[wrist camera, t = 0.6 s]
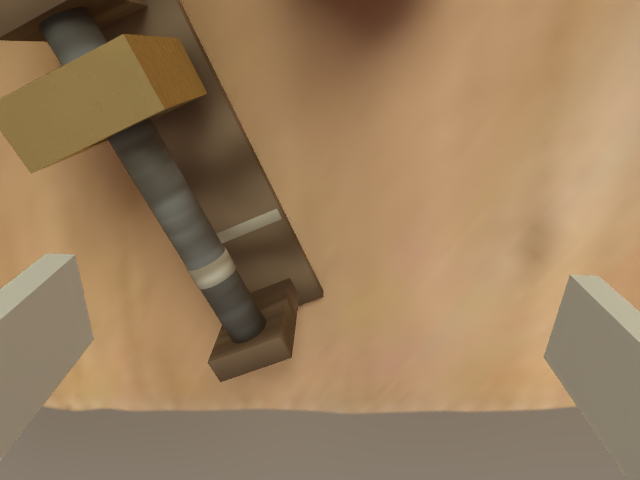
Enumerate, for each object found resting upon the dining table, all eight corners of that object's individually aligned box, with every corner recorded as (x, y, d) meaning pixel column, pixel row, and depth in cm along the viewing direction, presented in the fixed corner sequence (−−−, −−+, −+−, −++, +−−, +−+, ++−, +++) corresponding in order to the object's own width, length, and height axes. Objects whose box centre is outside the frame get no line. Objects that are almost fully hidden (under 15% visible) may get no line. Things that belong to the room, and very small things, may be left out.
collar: (72, 92, 32) (-16, 107, 24) (179, 38, 31) (123, 34, 22) (104, 142, 34) (31, 173, 25) (207, 93, 32) (164, 109, 24)
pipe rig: (40, 13, 33) (-72, 0, 24) (154, -50, 31) (81, -92, 22) (230, 325, 44) (204, 399, 34) (323, 291, 42) (321, 359, 33)
